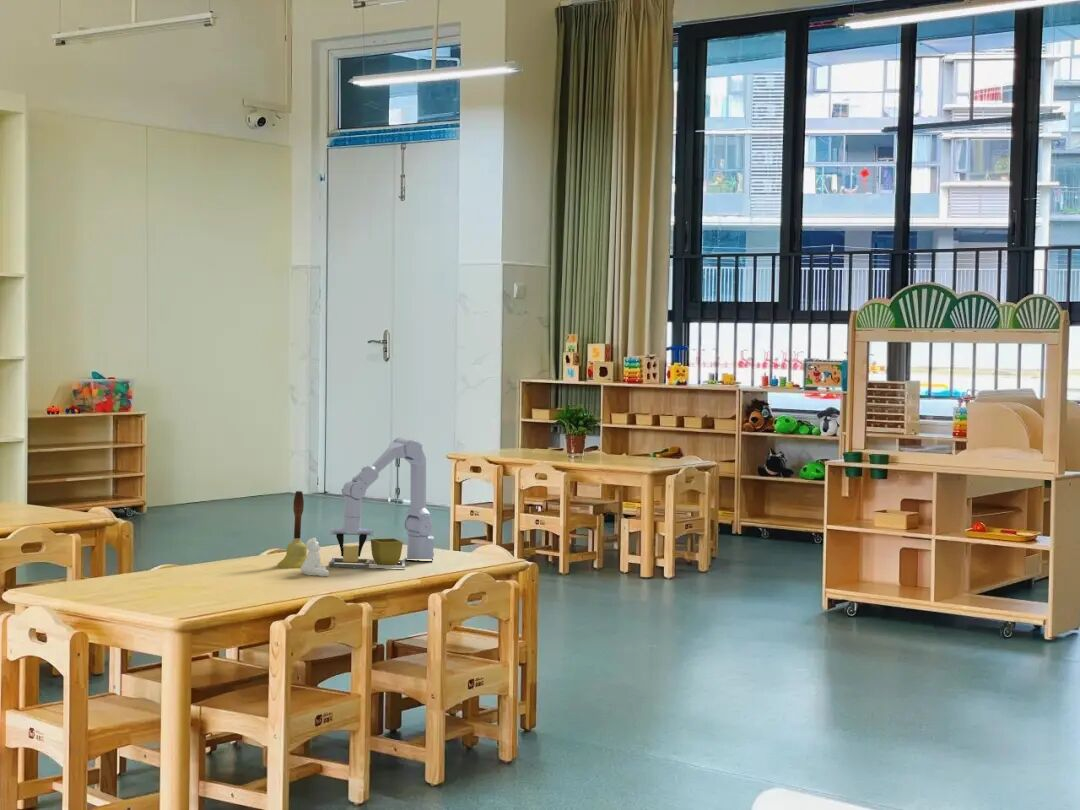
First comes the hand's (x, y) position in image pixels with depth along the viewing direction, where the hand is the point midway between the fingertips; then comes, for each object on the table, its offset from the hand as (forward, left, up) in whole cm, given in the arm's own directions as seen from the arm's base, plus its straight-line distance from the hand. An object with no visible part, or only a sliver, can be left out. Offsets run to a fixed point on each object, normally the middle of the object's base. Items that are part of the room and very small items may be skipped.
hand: (350, 556), depth 448 cm
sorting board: (-6, 0, -3) cm, 7 cm away
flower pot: (-12, 0, -3) cm, 12 cm away
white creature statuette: (+11, +21, -3) cm, 24 cm away
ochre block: (0, 0, -2) cm, 2 cm away
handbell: (+18, +4, -3) cm, 19 cm away
